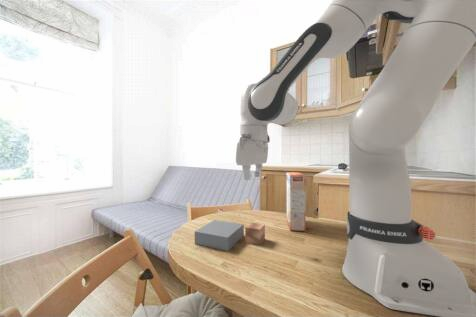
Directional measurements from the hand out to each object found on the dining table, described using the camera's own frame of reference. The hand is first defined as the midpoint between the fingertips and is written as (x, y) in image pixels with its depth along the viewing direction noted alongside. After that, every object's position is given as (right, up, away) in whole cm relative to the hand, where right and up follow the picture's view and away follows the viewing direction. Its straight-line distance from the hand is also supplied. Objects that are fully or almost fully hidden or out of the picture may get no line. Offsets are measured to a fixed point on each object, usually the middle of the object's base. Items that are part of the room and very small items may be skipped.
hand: (253, 178), depth 63 cm
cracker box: (+18, -21, +14) cm, 31 cm away
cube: (+1, -21, 0) cm, 21 cm away
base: (-11, -21, +1) cm, 24 cm away
